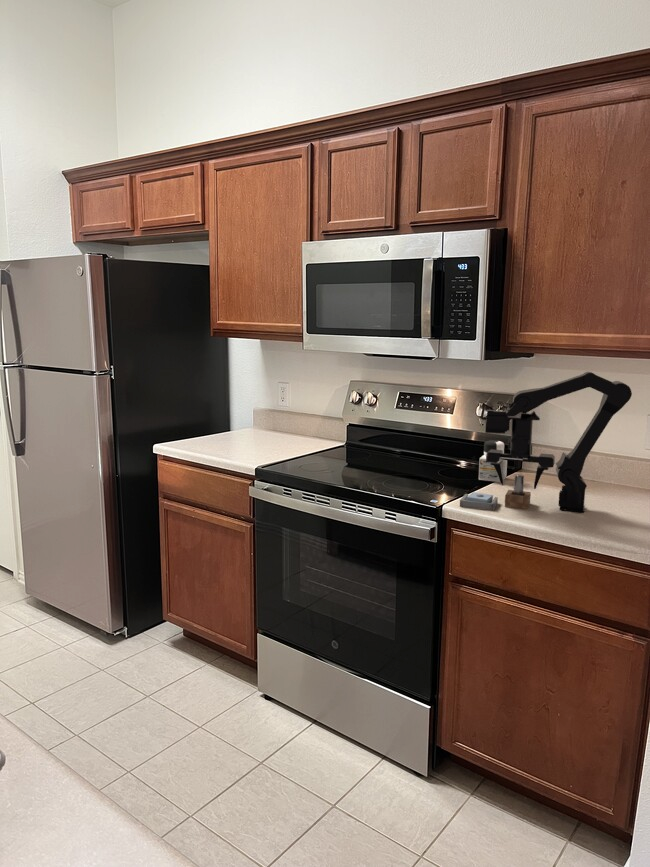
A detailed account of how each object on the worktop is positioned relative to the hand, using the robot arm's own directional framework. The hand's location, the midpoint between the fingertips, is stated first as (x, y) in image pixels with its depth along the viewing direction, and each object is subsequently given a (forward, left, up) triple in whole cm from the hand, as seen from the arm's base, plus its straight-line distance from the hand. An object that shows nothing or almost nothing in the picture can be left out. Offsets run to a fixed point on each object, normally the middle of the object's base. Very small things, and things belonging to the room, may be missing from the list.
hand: (518, 486), depth 193 cm
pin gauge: (0, 0, -6) cm, 6 cm away
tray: (+11, +4, -6) cm, 13 cm away
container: (+12, -28, -6) cm, 31 cm away
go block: (0, 0, -6) cm, 6 cm away
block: (+10, +4, -6) cm, 13 cm away
